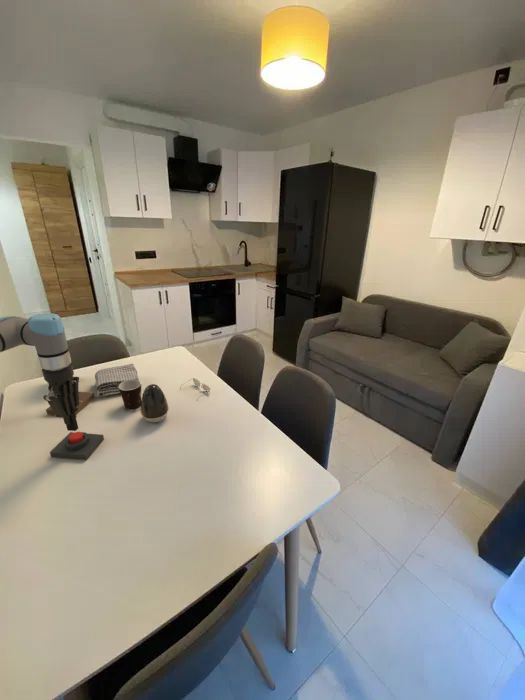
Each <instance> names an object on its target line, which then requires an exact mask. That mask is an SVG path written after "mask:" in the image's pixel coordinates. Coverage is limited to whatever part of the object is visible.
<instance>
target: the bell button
mask: <svg viewBox="0 0 525 700" xmlns="http://www.w3.org/2000/svg"><path fill="white" fill-rule="evenodd" d="M82 432H83V431H74V433H72V434H71V435H70V436H69V441H70V443H71V444H75V443H79V442H80V441H82V440H83V438H84V437H83V434H82Z"/></svg>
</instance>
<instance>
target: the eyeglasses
mask: <svg viewBox="0 0 525 700" xmlns="http://www.w3.org/2000/svg"><path fill="white" fill-rule="evenodd" d="M191 380H192V382H193V384H194V386H196V385H197V386H196V387H198V386H199V387H198V388H200V387H201V388H202V389H203V391H205V390H206V391H207V392H206V391H205V392H204V393H203V394H201V395H200V397H202V396H203V395H205V394H206V393H208V392H209V393H208V394H210V392H211V387H210V386H209V385H207V384H205V383H201V381H200V380H199V379H197V378H195V377H193V378H191V379H189V380H188V381H186V382H184V383H183V384H181V386H180V387H179V389H181V388H182V386H183V385H184V384H186V383H188V382H190V381H191ZM198 400H199V398H197V400H196V401H198Z"/></svg>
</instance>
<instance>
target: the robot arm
mask: <svg viewBox="0 0 525 700" xmlns="http://www.w3.org/2000/svg"><path fill="white" fill-rule="evenodd" d="M24 345H25V346H30V347H31V346H32V347H34V348H35V351H36V355H37V357H38V362H39V365H40V368H41V373H42V377H43V380H44V381H45V382H46V383H47V384H48V387H47V388H48V393H47V394H44V395H43V397H42V399H43V400H44V401H46V402H47V403H48V405H49V407H51V408H52V410H53V412H54V414H55V415H54V416H55V417H56V418H62V419H63V422H64V423H63V424H65V426H66V429H67V431H70V432H77V431H78V430H79V425H78V420H77V415H76V412H75V411H78V408H76V406H79V392H80V391H79V382H80V376H75V375H74V374H75V372H74V367H73V364H72V358H71V357H72V356H71V354H70V350H69V346H68V342H67V337H66V332H65V326H64V324H63V322H62V319H61V316H60V315H58V314H56V313H53V312H52V313H51V312H49V313H46V312H44V313H37V314H33V315H30V316H29V317H28V318H26V317H21V316H17V315H16V316H15V315H13V316H10V315H6V316H1V317H0V353H3V352H5V351H8V350H11V349H14V348H17V347H19V346H24ZM73 383H74V384H73ZM74 401H75V402H74Z"/></svg>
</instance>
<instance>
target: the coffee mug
mask: <svg viewBox="0 0 525 700" xmlns="http://www.w3.org/2000/svg"><path fill="white" fill-rule="evenodd" d="M139 380H140V379H139ZM139 380H127V381H124V382H122V383H120V384H119V386H118V387H119V390H120V393H119V394H120V396H121V400H122V402H123V405H124V408H125V409H126V410H129V411H131V410H137V409H138V408H141V401H142V386H141V384H142V382H141V380H140V381H139Z"/></svg>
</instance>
